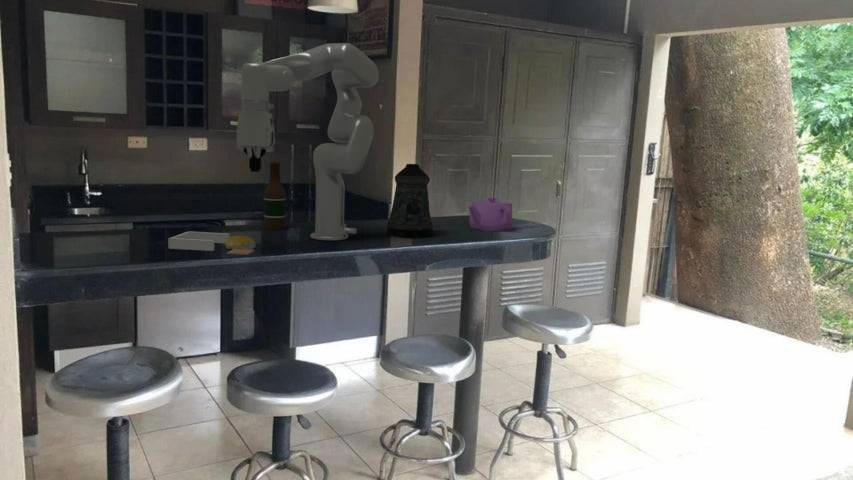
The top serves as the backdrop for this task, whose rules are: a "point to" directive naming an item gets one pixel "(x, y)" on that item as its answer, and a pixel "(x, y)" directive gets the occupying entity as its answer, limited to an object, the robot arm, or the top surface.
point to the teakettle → (491, 215)
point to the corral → (197, 240)
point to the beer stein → (410, 205)
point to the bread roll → (240, 242)
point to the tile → (240, 251)
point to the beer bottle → (274, 200)
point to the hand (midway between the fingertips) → (255, 171)
